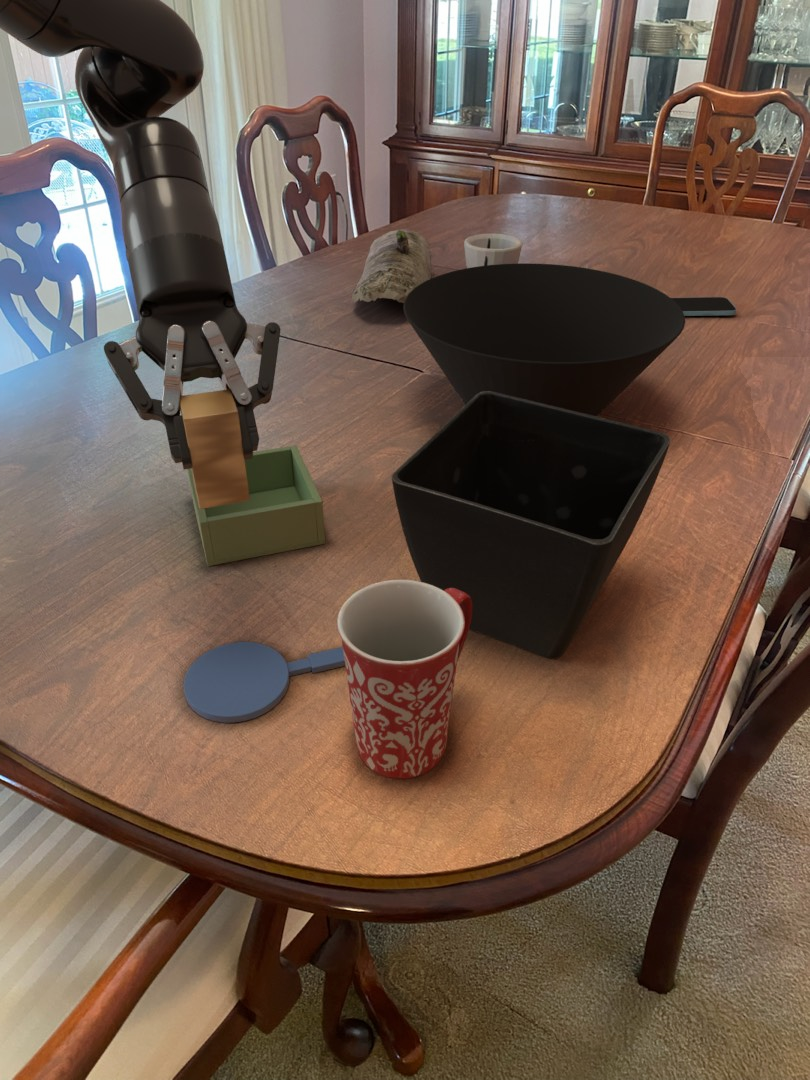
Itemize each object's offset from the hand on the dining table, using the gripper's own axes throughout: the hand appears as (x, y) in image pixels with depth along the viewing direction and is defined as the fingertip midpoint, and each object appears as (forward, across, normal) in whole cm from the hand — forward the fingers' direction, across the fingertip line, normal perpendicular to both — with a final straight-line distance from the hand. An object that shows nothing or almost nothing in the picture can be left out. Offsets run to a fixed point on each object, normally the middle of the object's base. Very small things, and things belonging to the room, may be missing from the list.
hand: (218, 460), depth 62 cm
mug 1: (+24, +12, +5) cm, 27 cm away
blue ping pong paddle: (+17, +3, +12) cm, 21 cm away
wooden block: (+2, 0, +4) cm, 4 cm away
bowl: (-10, +45, +40) cm, 61 cm away
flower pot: (+16, +26, +13) cm, 33 cm away
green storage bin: (0, +4, +29) cm, 29 cm away
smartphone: (-30, +89, +59) cm, 111 cm away
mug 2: (-43, +59, +73) cm, 104 cm away
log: (-46, +41, +75) cm, 97 cm away
